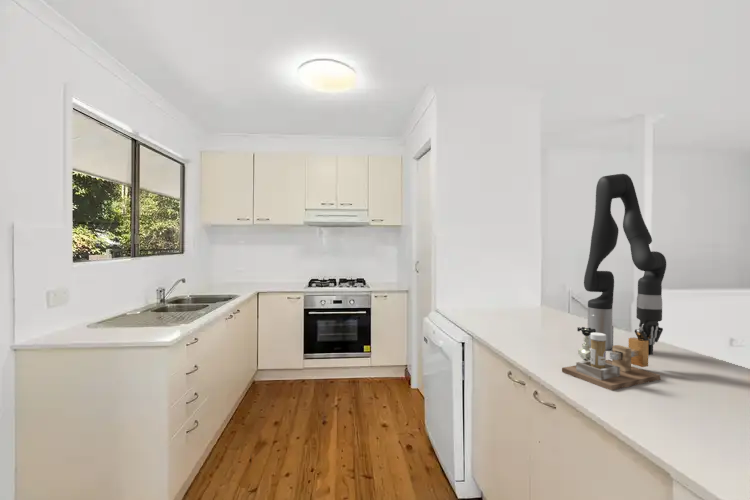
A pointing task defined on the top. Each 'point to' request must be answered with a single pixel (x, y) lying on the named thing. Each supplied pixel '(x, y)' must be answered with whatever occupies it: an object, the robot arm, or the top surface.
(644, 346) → the bar
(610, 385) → the socket base
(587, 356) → the valve
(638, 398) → the top surface
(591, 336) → the spice jar
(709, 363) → the top surface
